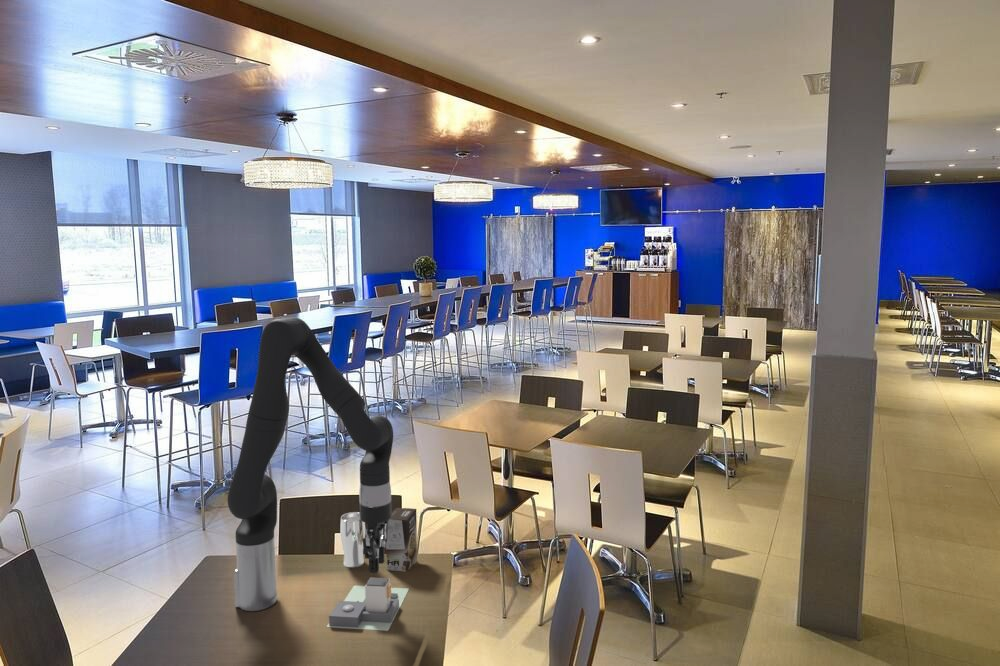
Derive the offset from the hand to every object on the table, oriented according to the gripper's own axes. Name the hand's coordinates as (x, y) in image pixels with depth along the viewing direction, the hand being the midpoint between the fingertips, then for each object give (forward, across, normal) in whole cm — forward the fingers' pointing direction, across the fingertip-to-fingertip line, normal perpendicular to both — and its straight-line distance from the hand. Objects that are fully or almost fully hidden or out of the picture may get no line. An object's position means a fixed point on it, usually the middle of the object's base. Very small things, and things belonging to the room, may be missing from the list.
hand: (376, 567), depth 162 cm
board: (+13, -3, -3) cm, 14 cm away
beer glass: (+13, -26, -15) cm, 33 cm away
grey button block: (+12, +1, -6) cm, 14 cm away
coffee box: (+13, -27, -1) cm, 30 cm away
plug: (+12, 0, 0) cm, 12 cm away
